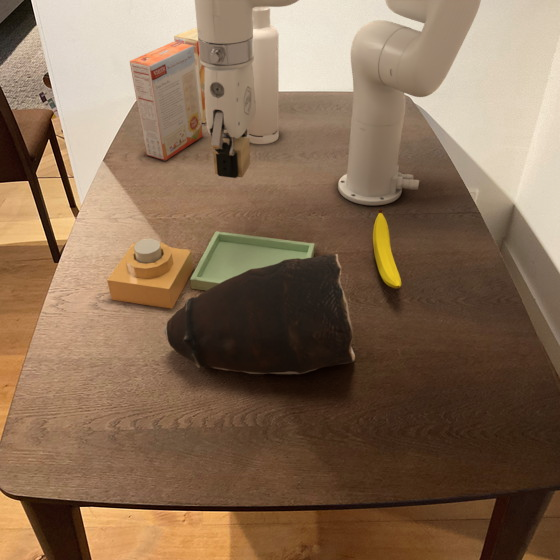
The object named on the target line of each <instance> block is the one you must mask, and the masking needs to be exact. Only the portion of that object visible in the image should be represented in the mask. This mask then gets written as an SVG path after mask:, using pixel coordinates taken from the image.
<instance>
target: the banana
mask: <svg viewBox="0 0 560 560" xmlns="http://www.w3.org/2000/svg"><path fill="white" fill-rule="evenodd" d="M383 211H384V210H383V209H382V208H379V209H377V212H378V214H377V216H376V218H375V221H374V223H373V224H374V225H373V229H372V243H373V254H374V259H375V262H376V266H377V270H378V273H379V275H380V277H381V279H382V282H384V284H386V285H387V286H388V287H390V288H392V289H400V288H401V286H402V279H401V276H400V272H399V270H398V268H397V265H396V262H395V259H394V256H393V252H392V248H391V236H390V230H389V226H388V225H389V224H388V222H387V219H386V217H385V216H384V214H383Z"/></svg>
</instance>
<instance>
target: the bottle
mask: <svg viewBox="0 0 560 560" xmlns="http://www.w3.org/2000/svg"><path fill="white" fill-rule="evenodd" d="M252 13H253V48H254V61H253V62H252V67H253V76H254V88H255V102H256V114H255V117H254V119H253V120H252V122H251V123H250V125H249V126H248V128H247V137H244V138H249V140H250V144H253V145H254V144H255V145H268V144H271V143H274V142H276V141H278V139H279V138H280V137H279V136H280V130H279V124H280V123H279V119H280V118H279V114H280V113H279V112H280V111H279V107H280V106H279V103H280V101H279V100H280V99H279V98H280V97H279V92H280V91H279V83H280V82H279V81H280V79H279V73H280V71H279V32H278V29H276V28H275V27H274V26H273V25H271V7H254V8H253V9H252Z"/></svg>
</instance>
